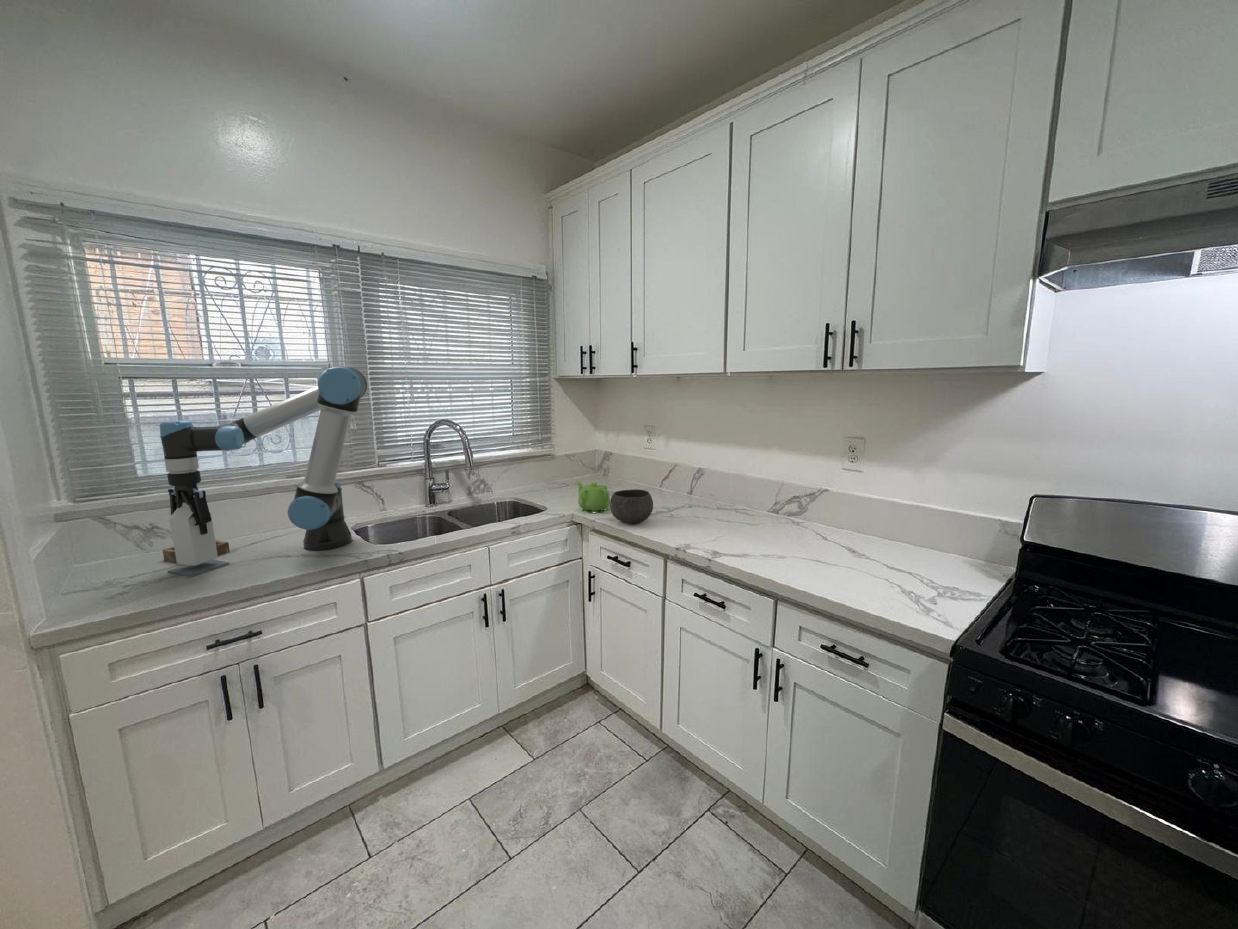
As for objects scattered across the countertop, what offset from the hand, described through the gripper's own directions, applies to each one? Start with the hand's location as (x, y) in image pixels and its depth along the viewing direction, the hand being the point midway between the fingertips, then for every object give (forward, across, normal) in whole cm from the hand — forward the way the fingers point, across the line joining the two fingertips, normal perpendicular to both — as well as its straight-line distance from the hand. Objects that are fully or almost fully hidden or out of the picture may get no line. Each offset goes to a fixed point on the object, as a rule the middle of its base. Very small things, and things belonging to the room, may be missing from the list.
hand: (195, 542), depth 153 cm
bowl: (+9, -114, -92) cm, 147 cm away
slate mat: (+9, 0, 0) cm, 9 cm away
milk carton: (+6, 0, 0) cm, 6 cm away
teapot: (+9, -91, -105) cm, 139 cm away
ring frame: (+9, +13, -7) cm, 17 cm away
